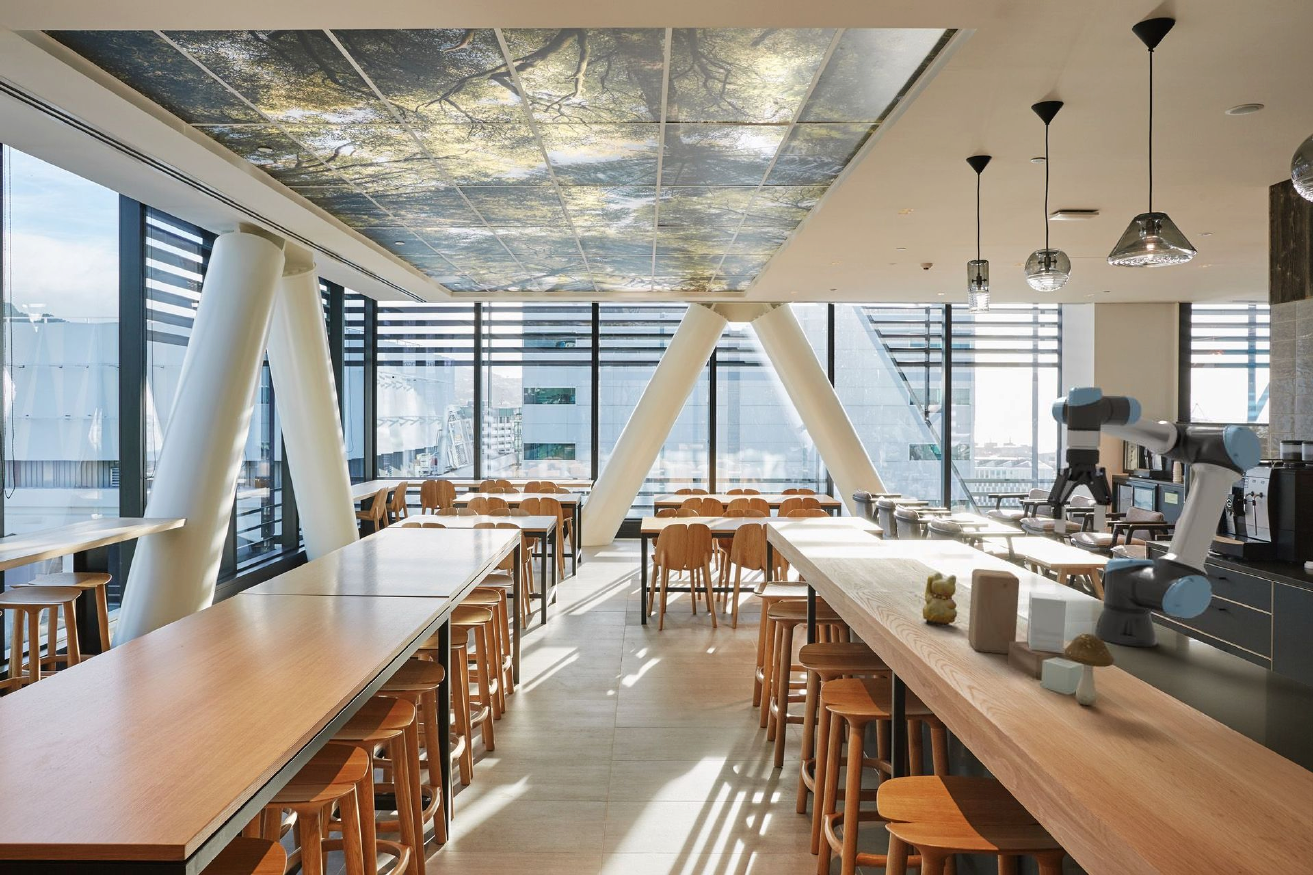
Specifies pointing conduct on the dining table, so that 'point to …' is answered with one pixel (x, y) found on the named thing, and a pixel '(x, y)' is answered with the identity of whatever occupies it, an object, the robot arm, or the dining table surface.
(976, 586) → the wooden block
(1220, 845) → the dining table surface
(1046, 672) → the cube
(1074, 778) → the dining table surface
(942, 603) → the decorative figurine
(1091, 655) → the mushroom
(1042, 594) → the supplement box
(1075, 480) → the robot arm
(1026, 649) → the base block
